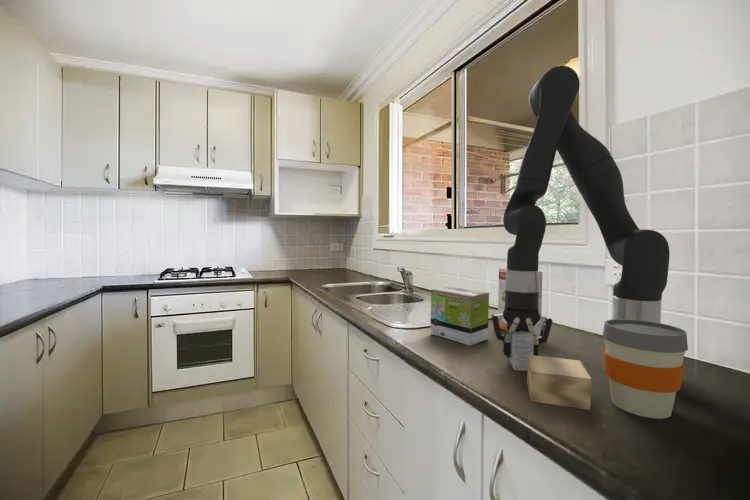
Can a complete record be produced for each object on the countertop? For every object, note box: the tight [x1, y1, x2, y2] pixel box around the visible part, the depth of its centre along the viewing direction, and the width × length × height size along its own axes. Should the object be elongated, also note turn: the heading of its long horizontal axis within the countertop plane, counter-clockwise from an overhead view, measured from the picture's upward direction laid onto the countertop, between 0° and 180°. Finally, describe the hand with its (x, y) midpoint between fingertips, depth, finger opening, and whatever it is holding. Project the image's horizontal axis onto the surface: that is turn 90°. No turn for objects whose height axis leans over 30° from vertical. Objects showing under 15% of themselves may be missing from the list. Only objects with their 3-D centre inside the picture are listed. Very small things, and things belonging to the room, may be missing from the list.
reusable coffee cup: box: [602, 318, 689, 419], centre depth 66 cm, size 13×13×15 cm
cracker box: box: [497, 266, 543, 337], centre depth 114 cm, size 14×6×21 cm, turn 17°
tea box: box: [430, 286, 490, 347], centre depth 109 cm, size 15×10×15 cm
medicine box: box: [507, 330, 534, 372], centre depth 86 cm, size 8×4×9 cm, turn 168°
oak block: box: [526, 355, 592, 411], centre depth 71 cm, size 10×10×6 cm
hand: (520, 357), depth 86 cm, fingers open, 5 cm apart
